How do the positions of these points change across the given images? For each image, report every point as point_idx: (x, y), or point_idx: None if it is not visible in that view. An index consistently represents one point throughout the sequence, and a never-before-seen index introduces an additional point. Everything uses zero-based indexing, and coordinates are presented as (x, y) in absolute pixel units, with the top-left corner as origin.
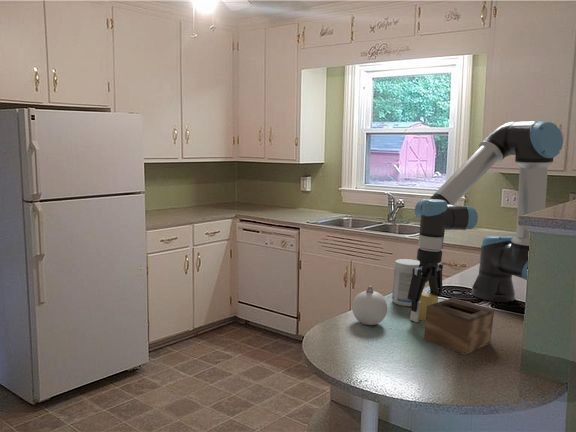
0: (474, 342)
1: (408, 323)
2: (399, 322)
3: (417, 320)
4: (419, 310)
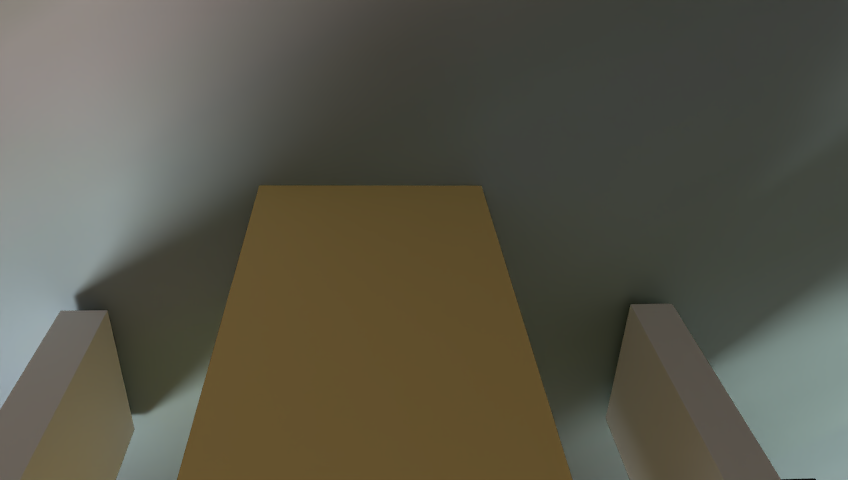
0: None
1: (787, 354)
2: (833, 434)
3: (681, 326)
4: (738, 469)
